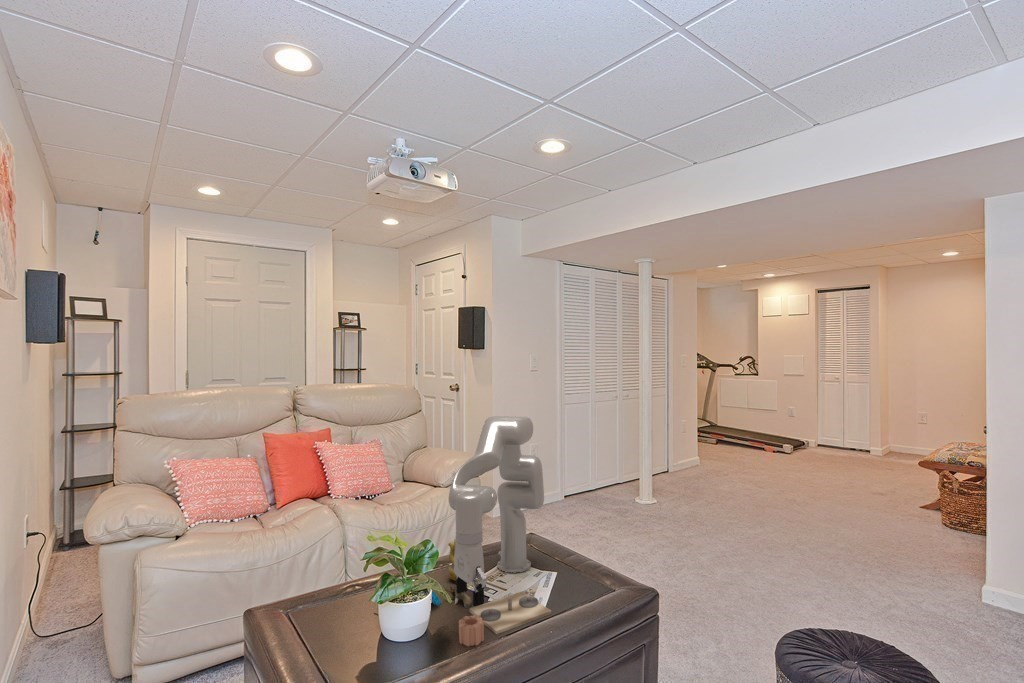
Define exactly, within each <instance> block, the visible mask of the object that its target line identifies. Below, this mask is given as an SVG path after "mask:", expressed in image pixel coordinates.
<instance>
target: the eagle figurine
mask: <svg viewBox="0 0 1024 683" xmlns="http://www.w3.org/2000/svg"><path fill="white" fill-rule="evenodd" d="M444 590H445V591H447V592H449V593H450V594H451V595H452V597H453V599H454V606H456V604H458V602H459V600H461V601H462V602H463V606H464V608H465V609H470V608H473V607H474V606H473V597H471V596H470V594H468V593H467V592H462V593H459V594H458V593H457V588H456V584H454V586H453V587H452V585H450V586H449V588H447V587H445V586H444Z"/></svg>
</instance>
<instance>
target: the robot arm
mask: <svg viewBox="0 0 1024 683" xmlns="http://www.w3.org/2000/svg"><path fill="white" fill-rule="evenodd" d="M533 433H534V423H533V421H532V420H531V418H530V417H528V416H507V415H506V416H500V415H496V416H495V415H494V416H493V415H492V416H490V417H487V418H486V419H485V421H484V424H483V425H482V428H481V431H480V434H479V437H478V439H479V440H478V443H477V447H476V450H475V453H474V455H473V456H472V457H470V458H469V459H468V460H466V461H465V462H464V463H463V464H462V465H461V466H460V467H459V468H458V469H457V470H456V472H455V474H454V477H453V479H452V482H451V484H450V489H449V491H448V506H449V507H450V508H451V509H452V510H454V511H455V538H456V543H455V552H454V573H455V574H456V582H455V587H456V590H457V593H458V594H459V593H462V592H465V593H467V591H468V585H472V588H473V591H472V600H473V606H472V607H476V606H479V605H482V604H485V591H486V587H487V581H488V579H487V576H486V574H485V564H484V563H485V562H484V549H483V515H484V514H487V513H488V514H489V513H490V512H491V511H492V510H494V508H495V507H496V506H497V502H498V506H499V515H500V517H499V519H500V520H499V521H500V522H499V523H500V550H499V551H498V553H497V554H498V555H499V556H500V560H498V562H497V563H496V567H497V569H498V568H499V569H500V570H499V569H498V570H499V571H501V570H502V571H501V572H503V571H505V572H504V573H507V572H511V573H510V574H517V573H516V572H520V573H523V572H522V571H524V572H525V570H526V571H528V570H530V568H531V567H532V566H531V565H532V564H531V561H530V560H529V559H528V558H527V531H526V530H527V529H526V528H527V525H526V524H527V521H526V520H527V519H526V516H525V514H524V513H523V511H522V510H521V509H527V510H538V509H540V508H542V507H543V505H544V502H545V488H544V476H543V474H544V473H543V465H542V461H541V459H540V458H539V457H538V456H536V455H530V454H529V455H528V454H527V455H526V454H525V455H524V454H522V452H521V450H522V449H521V445H525V444H526V443H527V442H529V441H530V440H531V439H532V437H533ZM496 468H498V471H499V475H500V477H501V479H502V480H504V481H505V482H502V483H500V484H499V486H498V487H497V491H496V489H495V488H493V487H491V486H488V485H472V484H467V483H468V482H469V481H470V480H471V479H473V478H475V477H477V476H479V475H482V474H485V473H488V472H489V471H493V470H495V469H496ZM527 569H528V570H527ZM512 572H513V573H512ZM477 583H478V584H477Z"/></svg>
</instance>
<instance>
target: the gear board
mask: <svg viewBox="0 0 1024 683" xmlns="http://www.w3.org/2000/svg"><path fill="white" fill-rule="evenodd" d="M468 609H469V610H468V611H469V614H471V615H472V616H473V615H476V616H478V617H479V618H480V617H481V618H483V622H484V626H485V627H487V628H488V629H489V630H490V631H492V632H493V633H494V634H495V635H499V634H501V633H505V632H507V631H510V630H512V629H515V628H518V627H520V626H523V625H525V624H528V623H532V622H534V621H536V620H540V619H541V618H545V617H547V616H550V615H552V610H551V609H550V608H548V607H546V606H545V605H544V604H542V603H541V602H539V600H538V598H536V597H535V596H530V595H529V594H527V593H526V592H524V591H522V590H521V591H518V592H515V593H513V594H509V595H505V596H503V597H500V598H496V599H495V600H490V601H488V602H486V603H485V602H484V604H482V605H479V606H476V607H474V606H472V607H471V608H468Z"/></svg>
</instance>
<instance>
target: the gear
mask: <svg viewBox="0 0 1024 683" xmlns="http://www.w3.org/2000/svg"><path fill="white" fill-rule="evenodd" d="M431 602H432V603H433V604H434V605H437V607H438V606H440V605H441V603H442V601H441V600H440V597H439V596H438V595H437V593H436V592H435V591H433V592H432V600H431Z"/></svg>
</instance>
